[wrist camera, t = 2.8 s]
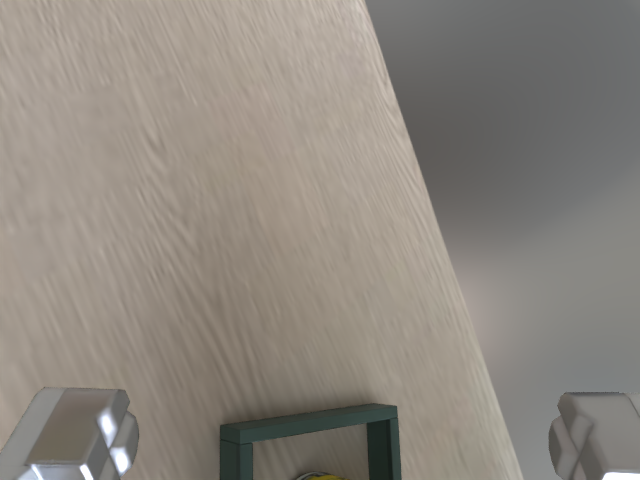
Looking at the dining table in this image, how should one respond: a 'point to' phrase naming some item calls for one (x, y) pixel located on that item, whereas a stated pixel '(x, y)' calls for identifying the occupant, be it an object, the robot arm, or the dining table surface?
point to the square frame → (377, 416)
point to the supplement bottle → (319, 476)
